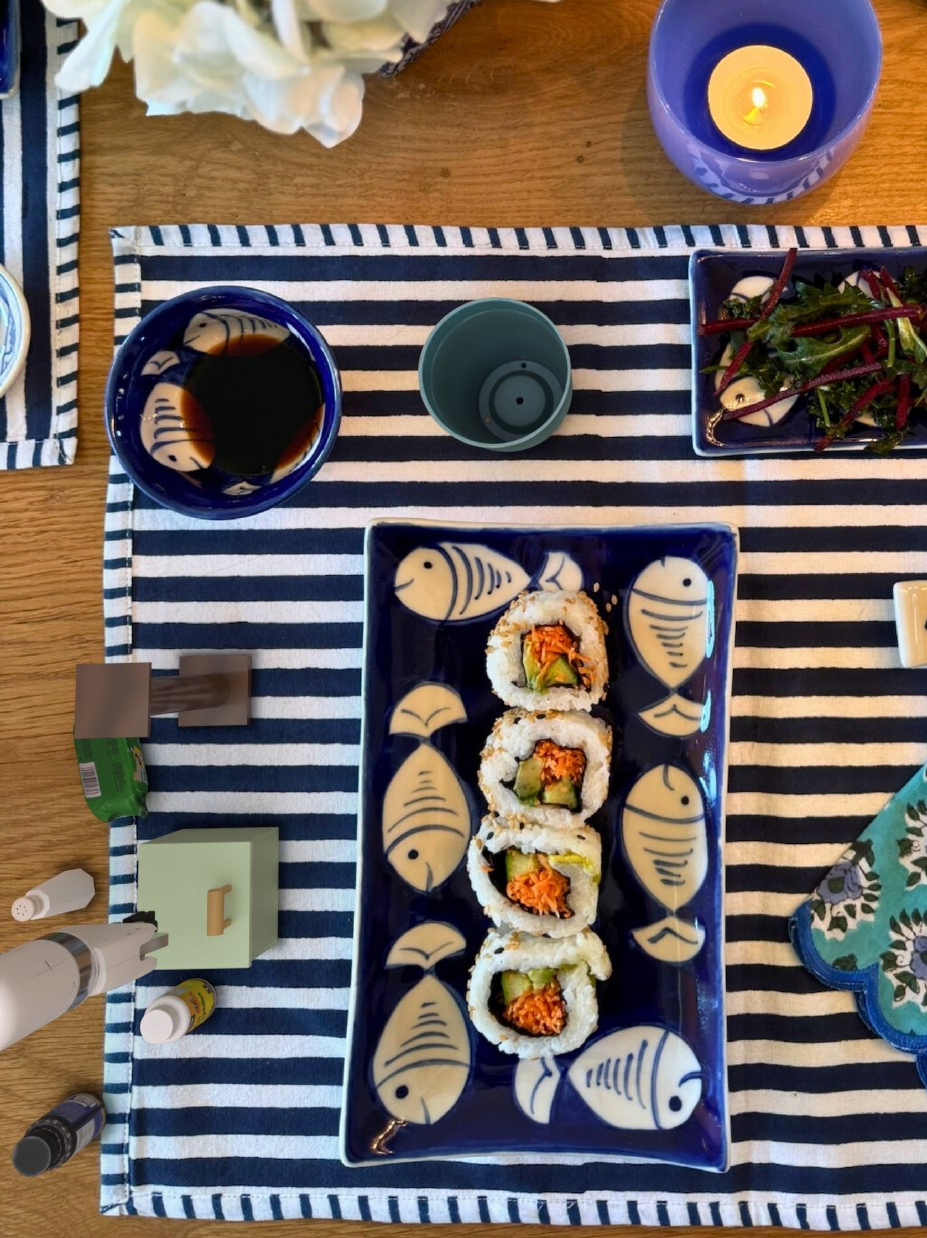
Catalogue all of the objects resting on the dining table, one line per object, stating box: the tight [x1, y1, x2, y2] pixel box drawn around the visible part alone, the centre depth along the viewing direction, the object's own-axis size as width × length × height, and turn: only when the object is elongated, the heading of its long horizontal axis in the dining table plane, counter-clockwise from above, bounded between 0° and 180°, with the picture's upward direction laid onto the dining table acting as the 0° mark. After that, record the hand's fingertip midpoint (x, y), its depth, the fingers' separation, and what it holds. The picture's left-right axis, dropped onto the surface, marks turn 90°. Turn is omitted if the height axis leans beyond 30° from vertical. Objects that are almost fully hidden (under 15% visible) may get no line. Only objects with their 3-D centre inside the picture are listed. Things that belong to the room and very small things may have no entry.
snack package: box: [72, 721, 150, 824], centre depth 139 cm, size 7×16×5 cm, turn 15°
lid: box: [137, 841, 253, 971], centre depth 127 cm, size 13×15×5 cm
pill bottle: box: [11, 1091, 108, 1178], centre depth 132 cm, size 6×6×11 cm
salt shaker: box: [10, 868, 96, 922], centre depth 135 cm, size 5×5×11 cm
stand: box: [73, 654, 253, 740], centre depth 130 cm, size 9×9×25 cm
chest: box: [143, 826, 280, 962], centre depth 135 cm, size 13×15×10 cm
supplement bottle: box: [139, 977, 217, 1045], centre depth 133 cm, size 6×6×10 cm
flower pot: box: [417, 296, 574, 453], centre depth 136 cm, size 18×18×17 cm
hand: (147, 924), depth 120 cm, fingers closed
